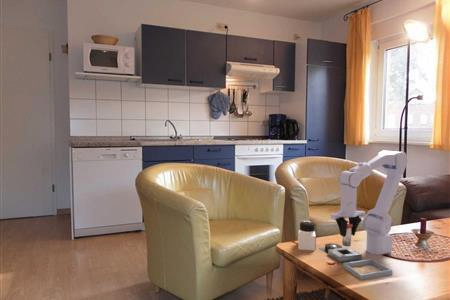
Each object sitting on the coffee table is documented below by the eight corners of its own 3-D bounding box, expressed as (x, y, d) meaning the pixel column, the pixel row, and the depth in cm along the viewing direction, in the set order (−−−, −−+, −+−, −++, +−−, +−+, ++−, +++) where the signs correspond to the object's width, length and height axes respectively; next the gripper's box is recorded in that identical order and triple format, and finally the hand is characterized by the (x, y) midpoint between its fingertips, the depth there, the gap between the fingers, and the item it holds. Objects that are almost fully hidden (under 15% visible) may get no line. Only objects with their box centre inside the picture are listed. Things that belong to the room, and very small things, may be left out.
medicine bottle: (315, 252, 141) (316, 225, 140) (298, 251, 143) (298, 224, 142) (314, 246, 148) (315, 220, 147) (298, 245, 150) (298, 219, 149)
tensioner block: (338, 247, 147) (338, 241, 146) (363, 262, 131) (363, 255, 131) (318, 250, 144) (318, 243, 144) (341, 265, 129) (341, 258, 128)
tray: (371, 265, 129) (372, 258, 129) (392, 276, 119) (392, 270, 119) (342, 269, 125) (342, 263, 125) (361, 282, 116) (361, 275, 115)
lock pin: (347, 242, 135) (349, 221, 135) (353, 246, 132) (355, 224, 131) (339, 243, 134) (340, 221, 133) (345, 247, 130) (346, 224, 130)
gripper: (338, 205, 125) (337, 240, 127) (371, 202, 129) (369, 236, 131) (327, 201, 132) (327, 234, 133) (359, 198, 136) (358, 231, 137)
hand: (347, 235), depth 132 cm, fingers closed on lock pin, 4 cm apart
